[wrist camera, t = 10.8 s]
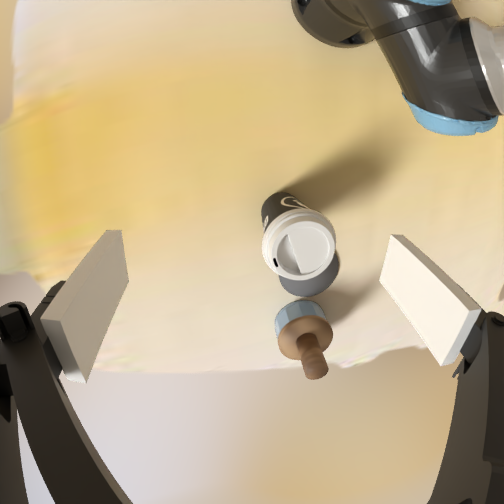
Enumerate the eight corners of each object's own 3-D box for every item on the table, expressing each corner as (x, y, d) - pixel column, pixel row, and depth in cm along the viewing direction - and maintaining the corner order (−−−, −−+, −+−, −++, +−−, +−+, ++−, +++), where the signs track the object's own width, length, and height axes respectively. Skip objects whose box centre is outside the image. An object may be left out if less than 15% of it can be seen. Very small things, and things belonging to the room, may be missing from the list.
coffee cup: (252, 182, 47) (266, 213, 34) (311, 184, 48) (346, 214, 35) (251, 238, 51) (262, 287, 38) (306, 238, 52) (334, 284, 39)
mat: (304, 230, 51) (305, 231, 51) (349, 261, 55) (349, 262, 55) (266, 279, 55) (266, 280, 55) (311, 304, 59) (312, 305, 58)
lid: (301, 306, 52) (315, 341, 44) (341, 327, 56) (358, 360, 47) (266, 344, 56) (273, 381, 47) (307, 361, 59) (318, 396, 51)
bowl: (296, 292, 57) (302, 307, 52) (332, 312, 60) (340, 327, 56) (264, 327, 60) (268, 344, 56) (302, 344, 63) (307, 360, 59)
